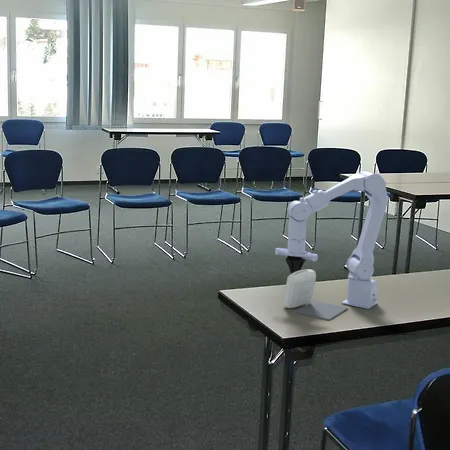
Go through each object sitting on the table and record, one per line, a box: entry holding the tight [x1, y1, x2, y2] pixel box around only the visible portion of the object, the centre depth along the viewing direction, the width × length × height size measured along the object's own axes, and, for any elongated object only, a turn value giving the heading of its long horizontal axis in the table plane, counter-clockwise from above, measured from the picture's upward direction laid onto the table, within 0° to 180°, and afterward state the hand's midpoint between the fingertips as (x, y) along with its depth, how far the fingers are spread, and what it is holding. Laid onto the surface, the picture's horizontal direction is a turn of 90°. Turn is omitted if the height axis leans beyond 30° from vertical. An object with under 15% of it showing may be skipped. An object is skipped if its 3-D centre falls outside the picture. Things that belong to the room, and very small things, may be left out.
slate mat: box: [294, 300, 349, 322], centre depth 217 cm, size 12×14×1 cm
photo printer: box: [282, 268, 317, 309], centre depth 219 cm, size 10×4×12 cm, turn 124°
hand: (294, 278), depth 221 cm, fingers closed
